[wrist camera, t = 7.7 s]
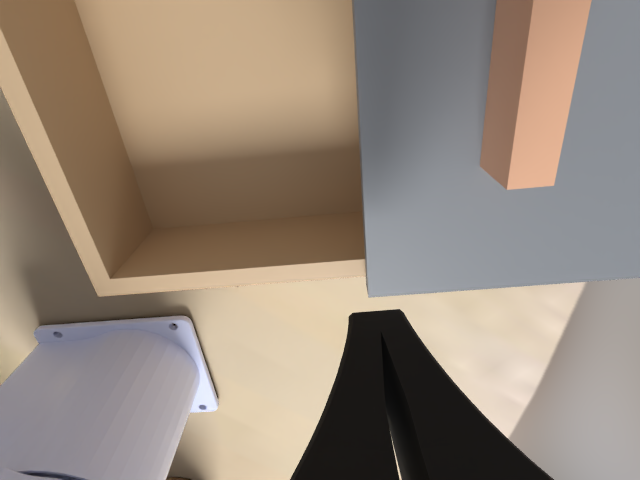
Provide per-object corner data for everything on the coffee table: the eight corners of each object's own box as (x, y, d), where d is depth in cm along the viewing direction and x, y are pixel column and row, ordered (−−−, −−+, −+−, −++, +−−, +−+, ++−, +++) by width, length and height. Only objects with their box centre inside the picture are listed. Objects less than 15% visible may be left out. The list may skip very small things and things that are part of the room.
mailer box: (147, 238, 20) (98, 296, 16) (-39, -283, 12) (-262, -475, 7) (416, 216, 19) (443, 270, 15) (429, -363, 11) (501, -635, 6)
